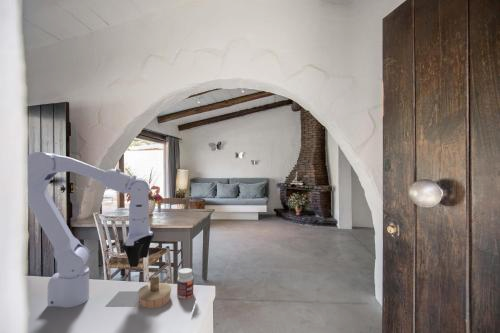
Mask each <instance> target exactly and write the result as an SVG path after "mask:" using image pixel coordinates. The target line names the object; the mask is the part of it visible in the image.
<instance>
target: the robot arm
mask: <svg viewBox="0 0 500 333" xmlns="http://www.w3.org/2000/svg"><path fill="white" fill-rule="evenodd" d="M27 156H28V203H27V205H28V207H29V208H30V210H31V211H32V213H33V215H34V217H35V218H36V221H37V222H38V223H39V225H40V227H41V228H42V230H43V232H44V234H45V235H46V237H47V239H48V241H49V242H50V244H51V245H52V247H53V256H54V259H55V262H56V271H57V272H56V273H53V275H52V276H51V277H50V279H49V280H48V283H47V307H61V308H72V307H73V308H74V307H77V306H80V305H82V304H84V303H86V302H87V301H88V300H90V268H89V266H88V265H87V264H86V263H87V262H88V261H89V259H90V257H91V256H90V255H91V253H90V250H89V249H88V247H87V246H85V245H83V244H82V243H81V242H80V240H79V239H78V238H77V237H75V236H74V235H73V233H72V231H71V230H70V228H69V226H68V225H67V223H66V220H65V219H64V218H63V216H62V214H61V212H60V211H59V209H58V207H57V205H56V203H55V201H54V199H53V198H52V196H51V195H50V194H49V193H50V192H49V191H48V190H47V188H48V185H49V184H50V182H51V180H52V178H54V177H55V176H56V175H57V174H58V173H64V172H66V173H67V172H71V173H75V174H79V175H81V176H83V177H88V178H90V179H94V180H96V181H100V182H101V184H102V186H103V187H104V188H107V189H110V190H112V191H114V192H119V193H120V194H124V195H125V194H128V195H129V204H128V233H127V237H126V238H125V242H123V243H121V248H122V250H123V251H124V253H125V254H126V257H127V260H128V264H129V267H130V268H137V267H138V266H139V263H140V259H141V258H144V259H145V258H146V259H147V258H148V254H149V251H150V246H151V243H152V241H153V238H154V236H155V234H154V232H153V231H152V230H151V226H150V203H149V199H150V197H149V194H150V190H151V189H150V185H149V183H148V182H147V181H146V180H145V179H143V178H139V177H138V178H137V175H130V174H127V173H125V172H123V171H122V169H120V168H115V169H114V168H110V169H107V170H104V169H101V168H98V167H97V166H94V165H90V164H89V163H85V162H84V161H81V160H78V159H76V158H73V157H69V156H65V155H60V154H57V153H55V152H43V151H35V152H31V153H29V154H28V155H27Z"/></svg>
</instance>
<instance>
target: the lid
mask: <svg viewBox="0 0 500 333" xmlns="http://www.w3.org/2000/svg"><path fill="white" fill-rule="evenodd" d="M149 279H150V281H149V282H150V283H148V284H145V285H143V286H141V287H140V288H139V289H138V290H137V291H138V297H139V298H140V299H142V300H147V301H152V300H158V299H161V298H164V297H166V296H167V295H169V294H170V295H171V292H172V286H171V285H170V284H169V283H165V282H160V275H158V274H154V275H151V276H150V278H149Z"/></svg>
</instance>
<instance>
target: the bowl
mask: <svg viewBox="0 0 500 333" xmlns="http://www.w3.org/2000/svg"><path fill="white" fill-rule="evenodd" d="M170 300H171V293H170V294H169V295H167V296H166V297H164V298H161V299H158V300H152V301H147V300H142V299H140V301H139V304H140V306H141V307H143V308H145V309H154V308H155V309H157V308H159V307H164V306H165V305H166V304H168V303H169V302H170Z"/></svg>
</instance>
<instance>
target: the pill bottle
mask: <svg viewBox="0 0 500 333" xmlns="http://www.w3.org/2000/svg"><path fill="white" fill-rule="evenodd" d="M194 280H195V279H194V276H193V269H192V268H190V267H185V268H181V269H179V270H178V277H177V280H176V281H177V282H176V283H177V284H176V285H177V287H176V298H178V299H180V300H187V299H190V298H192V297H193V296H194Z"/></svg>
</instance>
